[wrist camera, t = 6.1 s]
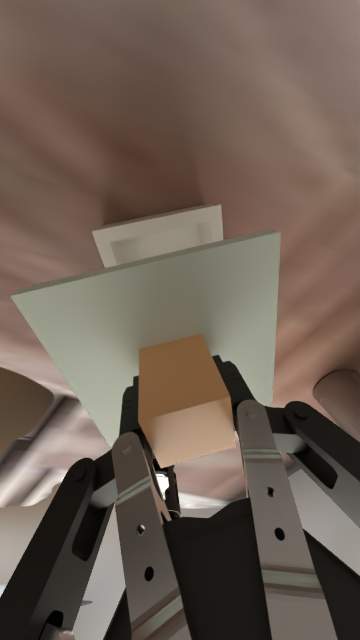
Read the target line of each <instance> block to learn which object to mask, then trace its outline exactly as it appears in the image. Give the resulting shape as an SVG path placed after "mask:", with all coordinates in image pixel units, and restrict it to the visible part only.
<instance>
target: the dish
mask: <svg viewBox="0 0 360 640" xmlns="http://www.w3.org/2000/svg"><path fill="white" fill-rule="evenodd" d="M92 234H93V236H94V239H95V242H96V245H97V247H98V250H99V253H100V256H101V258H102V261H103V264H104V267H105V268H107V267H111V266H115V265H120V264H124V263H128V262H132V261H137V260H141V259H145V258H149V257H153V256H158V255H162V254H166V253H170V252H175V251H179V250H183V249H187V248H191V247H196V246H200V245H204V244H208V243H213V242H217V241H221V240H223V226H222V211H221V205H214V204H204V205H199V206H194V207H190V208H185V209H180V210H175V211H170V212H165V213H161V214H156V215H151V216H146V217H141V218H136V219H132V220H127V221H122V222H117V223H112V224H107V225H103V226H101V227H99V228H97V229H95V230H93V231H92Z"/></svg>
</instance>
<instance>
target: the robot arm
mask: <svg viewBox="0 0 360 640" xmlns="http://www.w3.org/2000/svg"><path fill="white" fill-rule="evenodd" d="M212 358H213V360H214V362H215V364H216V366H217V369H218V371H219V373H220V375H221V377H222V379H223V382H224V384H225V386H226V388H227V390H228V392H229V395H230V397H231V407H232V416H233V426H234V431H237V434H238V436H239V442H240V449H241V456H242V463H243V470H244V477H245V485H246V494H247V498H245V499H242V500H239V501H235V502H232V503H230V504H228V505H227V506H226V507H224V508H223V509H221V510H220V511H219V512H217V513H216V514H214V515H213V516H212V517H210V518H194V517H181V518H177V519H174V520H171V518H170V515H169V512H168V510H167V507H166V505H165V502H164V498H163V495H162V492H161V489H160V486H159V482H158V479H157V476H156V473H155V469H154V466H153V460H152V454H153V451H152V449H151V447H150V445H149V443H148V441H147V439H146V437H145V435H144V433H143V431H142V428H141V426H140V424H139V422H138V400H139V375H138V376H134V377H133V386H130V387H127V388H126V390H125V392H124V394H123V398H122V411H121V419H120V430H119V437H118V438H117V439H116V441H115V442H114V444H113V446H112V449H111V450H110V451H108V452H107V453H106V454H104V455H102V456H101V457H99V458H98V459H96V460H94V461H93V460H92V459H90V458H83V459H80V460H79V461H77V462H76V463H74V464H73V465H72V466H71V468H70V469H69V470H68V472H67V474H66V476H65V477H64V479H63V481H62V483H61V485H60V487H59V489H58V491H57V492H56V494H55V496H54V498H53V500H52V502H51V504H50V506H49V507H48V509H47V511H46V513H45V515H44V517H43V519H42V521H41V522H40V524H39V526H38V528H37V530H36V532H35V534H34V536H33V538H32V539H31V541H30V543H29V545H28V547H27V549H26V550H25V552H24V554H23V556H22V558H21V560H20V562H19V564H18V565H17V567H16V569H15V571H14V573H13V575H12V577H11V579H10V580H9V582H8V584H7V586H6V588H5V590H4V592H3V594H2V595H1V597H0V640H75V638H74V635H73V633H72V629H73V626H74V623H75V620H76V617H77V614H78V611H79V608H80V605H81V602H82V599H83V596H84V593H85V590H86V587H87V584H88V581H89V578H90V575H91V572H92V569H93V566H94V563H95V560H96V557H97V554H98V551H99V548H100V545H101V542H102V539H103V536H104V533H105V530H106V527H107V524H108V521H109V518H110V515H111V512H112V509H113V506H114V503H115V508H116V517H117V524H118V532H119V540H120V546H121V555H122V562H123V570H124V577H125V584H126V587H125V590H124V592H123V594H122V597H121V599H120V601H119V604H118V606H117V608H116V611H115V613H114V616H113V618H112V620H111V622H110V625H109V627H108V629H107V631H106V634H105V636H104V639H103V640H360V576H359V575H358V574H357V573H356V572H354V571H353V570H352V569H351V568H350V567H348V566H347V565H346V564H345V563H344V562H343V561H341V560H340V559H339V558H338V557H337V556H335V555H334V554H333V553H332V552H331V551H329V550H328V549H327V548H326V547H325V546H323V545H322V544H321V543H320V542H319V541H317V540H316V539H315V538H314V537H313V536H311V535H310V534H309V533H308V532H307V531H305V530H304V529H303V528H302V525H301V521H300V518H299V514H298V511H297V507H296V504H295V501H294V497H293V494H292V491H291V487H290V483H289V480H288V476H287V473H286V470H285V466H284V463H283V460H282V457H281V455H280V453H278V452H286V453H287V454H288V455H289V456H290V457H291V459H292V460H293V461H294V462H295V463H296V464H297V465H298V466H299V467H300V468H301V469H302V470H303V471H304V472H305V473H307V475H308V476H309V477H310V478H311V479H312V480H313V481H314V482H315V483H316V484H317V485H318V486H319V487H320V488H321V489H322V490H323V491H324V492H325V493H326V494H327V495H328V496H329V497H330V498H331V499H332V500H333V501H334V502H335V503H336V504H337V505H338V506H339V507H340V508H341V509H342V510H343V511H344V512H345V514H347V516H348V517H349V518H350V519H351V520H352V521H353V522H354V523H355V524H356V525H357V526H358V527H359V528H360V373H358V372H357V371H354V372H351V371H348V370H340V371H336V372H333V373H331V374H329V375H327V376H326V377H324V378H323V379H322V380H321V381H320V382H319V383H318V384H317V385H316V387H315V389H314V392H313V395H314V398H315V399H316V400H317V401H318V402H319V404H320V405H321V406H322V407H323V408H324V409H325V410H326V411H327V413H328V414H329V415H330V416H331V417H332V418H333V419H334V421H335V422H336V423H337V424H338V425H339V426H340V427H341V428H342V429H341V428H340V427H338V426H337V425H336V424H334V423H333V422H332V421H330V420H329V419H328V418H326V417H325V416H323V415H322V414H321V413H319V412H318V411H317V410H315V409H314V408H313V407H311V406H310V405H308V404H306V403H304V402H300V401H292V402H289V403H288V404H287V405H286V406H285V408H273V407H267V406H264V405H262V404H261V403H259V402H258V401H257V400H256V399H255V398H254V396H253V394H252V393H251V391H250V389H249V387H248V386H247V384H246V382H245V381H244V379H243V378H242V375H241V374H240V372H239V370H238V369H237V367H236V365H235V364H233V363H232V362H231V361H225V362H223V361H222V360H221V358H220V356H219V355H215V356H212ZM115 501H116V502H115Z"/></svg>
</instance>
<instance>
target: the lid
mask: <svg viewBox="0 0 360 640" xmlns="http://www.w3.org/2000/svg"><path fill="white" fill-rule="evenodd" d="M280 240H281V232H280V231H275V230H270V229H267V230H263V231H259V232H255V233H250V234H246V235H242V236H238V237H234V238H229V239H225V240H221V241H217V242H213V243H208V244H204V245H200V246H196V247H191V248H187V249H183V250H179V251H175V252H170V253H166V254H162V255H158V256H153V257H149V258H145V259H141V260H137V261H132V262H128V263H124V264H120V265H115V266H111V267H107V268H103V269H99V270H94V271H90V272H86V273H82V274H78V275H73V276H69V277H65V278H61V279H56V280H52V281H48V282H44V283H40V284H35V285H31V286H27V287H23V288H21V289H19V290H18V291H17V292H15V293H14V294H12V295H11V296H10V297H11V298H12V300H13V301H14V303H15V304H16V306H17V307H18V309H19V310H20V312H21V313H22V315H23V316H24V318H25V319H26V321H27V322H28V324H29V325H30V327H31V328H32V330H33V331H34V333H35V334H36V336H37V337H38V339H39V340H40V342H41V343H42V345H43V346H44V348H45V349H46V351H47V352H48V354H49V355H50V357H51V358H52V360H53V361H54V363H55V364H56V366H57V367H58V369H59V370H60V372H61V373H62V375H63V376H64V378H65V379H66V381H67V382H68V384H69V385H70V387H71V388H72V390H73V391H74V393H75V394H76V396H77V397H78V399H79V400H80V402H81V403H82V405H83V406H84V408H85V409H86V411H87V412H88V414H89V415H90V417H91V419H92V420H93V422H94V423H95V425H96V426H97V428H98V429H99V431H100V432H101V434H102V435H103V437H104V438H105V440H106V441H107V443H108V444H109V446H110V447H111V448H112V446H113V444H114V442H115V441H116V439H117V438H118V437H119V430H120V419H121V411H122V398H123V394H124V392H125V390H126V388H127V387H130V386H133V377H134V376H138V375H139V400H138V422H139V424H140V426H141V428H142V431H143V433H144V435H145V437H146V439H147V441H148V443H149V445H150V447H151V449H152V451H153V453H154V455H155V457H156V459H157V461H158V464H159V466H160V468H164V467H168V466H171V465H175V464H178V463H182V462H185V461H189V460H193V459H196V458H200V457H203V456H207V455H210V454H214V453H217V452H221V451H224V450H228V449H232V448H235V447H236V445H235V435H234V426H233V416H232V407H231V397H230V395H229V392H228V390H227V388H226V386H225V384H224V382H223V379H222V377H221V375H220V373H219V371H218V369H217V366H216V364H215V362H214V360H213V358H212V356H215V355H219V356H220V358H221V360H222V361H223V362H225V361H231V362H232V363H233V364H235V365H236V367H237V369H238V370H239V372H240V374H241V375H242V378H243V379H244V381H245V382H246V384H247V386H248V387H249V389H250V391H251V393H252V394H253V396H254V398H255V399H256V400H257V401H258V402H259V403H261V404H262V405H264V406H267V405H271V404H272V399H273V379H274V359H275V339H276V319H277V300H278V280H279V260H280Z"/></svg>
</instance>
